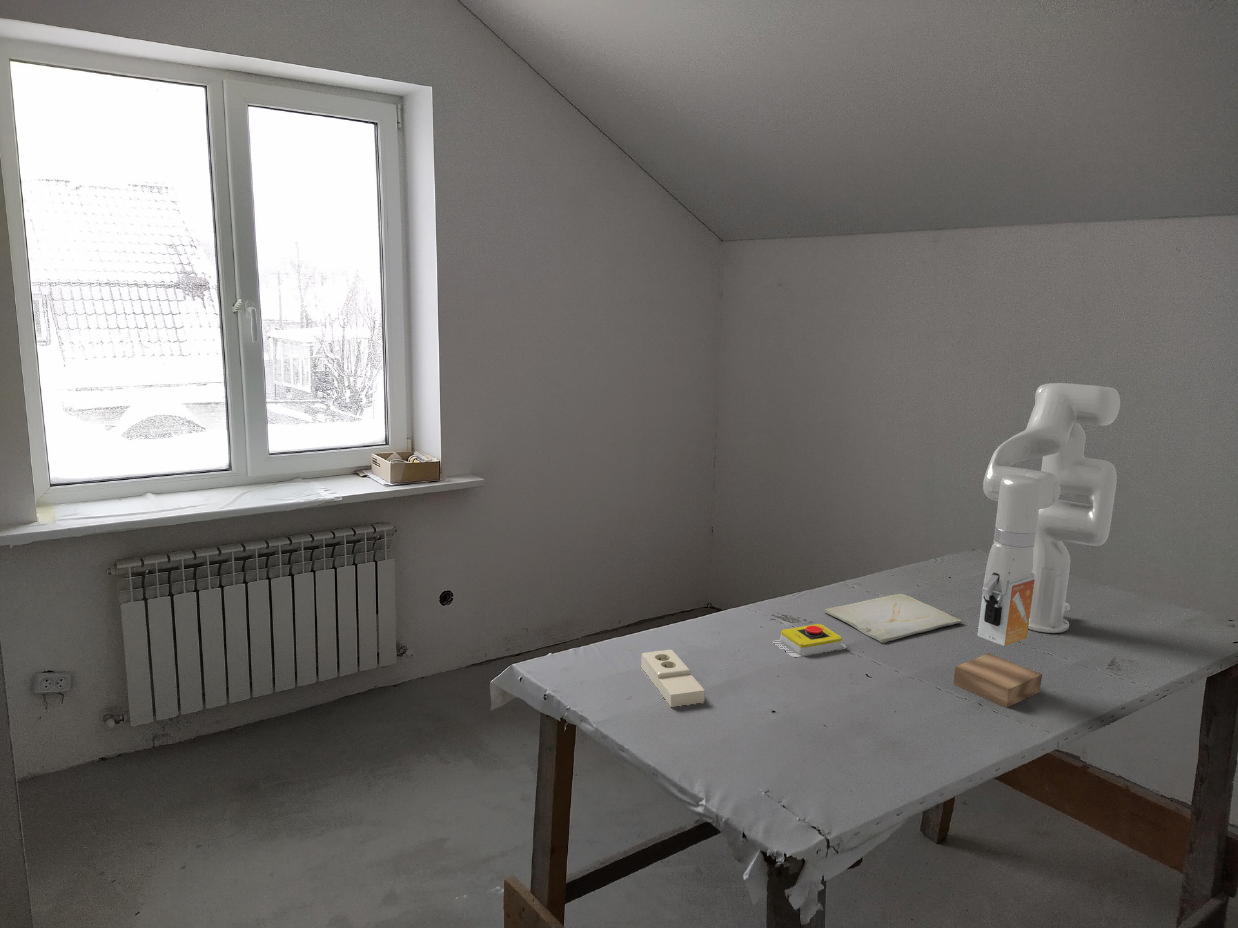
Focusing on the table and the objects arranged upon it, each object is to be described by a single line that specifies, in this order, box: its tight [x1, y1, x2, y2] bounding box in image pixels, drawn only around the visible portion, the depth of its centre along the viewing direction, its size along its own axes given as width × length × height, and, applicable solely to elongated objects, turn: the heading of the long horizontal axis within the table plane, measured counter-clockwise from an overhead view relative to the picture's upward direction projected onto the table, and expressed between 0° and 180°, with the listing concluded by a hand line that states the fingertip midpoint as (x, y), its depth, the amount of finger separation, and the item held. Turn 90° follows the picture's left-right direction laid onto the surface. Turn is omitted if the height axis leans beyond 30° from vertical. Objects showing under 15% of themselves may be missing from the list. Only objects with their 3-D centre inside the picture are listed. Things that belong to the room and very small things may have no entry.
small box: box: [977, 578, 1035, 647], centre depth 176 cm, size 8×6×13 cm
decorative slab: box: [823, 593, 963, 644], centre depth 215 cm, size 27×21×2 cm
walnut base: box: [953, 652, 1043, 709], centre depth 179 cm, size 12×12×4 cm
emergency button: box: [772, 623, 847, 658], centre depth 199 cm, size 9×4×15 cm
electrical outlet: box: [640, 649, 706, 708], centre depth 178 cm, size 7×4×18 cm
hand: (1004, 618), depth 176 cm, fingers closed on small box, 8 cm apart
